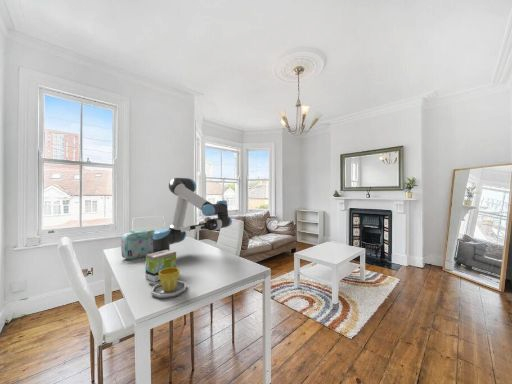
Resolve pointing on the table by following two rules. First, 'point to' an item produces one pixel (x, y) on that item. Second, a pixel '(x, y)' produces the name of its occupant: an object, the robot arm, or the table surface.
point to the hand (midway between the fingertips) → (188, 229)
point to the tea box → (159, 263)
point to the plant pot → (169, 278)
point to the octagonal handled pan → (160, 294)
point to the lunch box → (137, 244)
